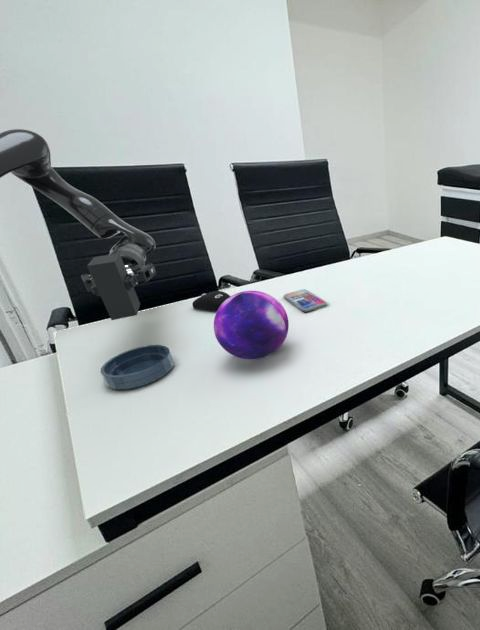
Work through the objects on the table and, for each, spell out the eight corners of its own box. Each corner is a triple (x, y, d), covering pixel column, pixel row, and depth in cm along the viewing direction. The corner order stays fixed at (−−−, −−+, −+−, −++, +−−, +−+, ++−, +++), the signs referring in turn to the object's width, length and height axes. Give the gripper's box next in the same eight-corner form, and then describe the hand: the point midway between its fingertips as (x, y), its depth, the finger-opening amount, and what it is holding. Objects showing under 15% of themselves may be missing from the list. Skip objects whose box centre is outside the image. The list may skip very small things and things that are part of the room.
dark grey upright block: (111, 320, 80) (86, 265, 75) (116, 308, 86) (93, 257, 80) (136, 315, 82) (114, 261, 77) (140, 304, 87) (119, 253, 82)
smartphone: (304, 288, 120) (328, 302, 109) (305, 291, 120) (328, 305, 110) (281, 294, 115) (303, 310, 105) (282, 297, 116) (304, 313, 105)
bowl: (97, 397, 76) (89, 382, 74) (120, 364, 86) (114, 351, 85) (166, 383, 79) (160, 369, 77) (180, 353, 89) (175, 340, 88)
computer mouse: (221, 314, 107) (217, 301, 106) (190, 309, 111) (185, 296, 110) (241, 303, 114) (238, 291, 112) (210, 299, 118) (206, 287, 116)
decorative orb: (242, 338, 95) (225, 281, 88) (302, 336, 94) (290, 279, 87) (211, 374, 81) (189, 310, 75) (281, 372, 81) (265, 307, 74)
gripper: (81, 255, 88) (60, 278, 74) (153, 245, 94) (146, 264, 80) (95, 286, 91) (77, 313, 78) (164, 274, 97) (159, 297, 83)
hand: (112, 288), depth 79 cm, fingers closed on dark grey upright block, 4 cm apart
